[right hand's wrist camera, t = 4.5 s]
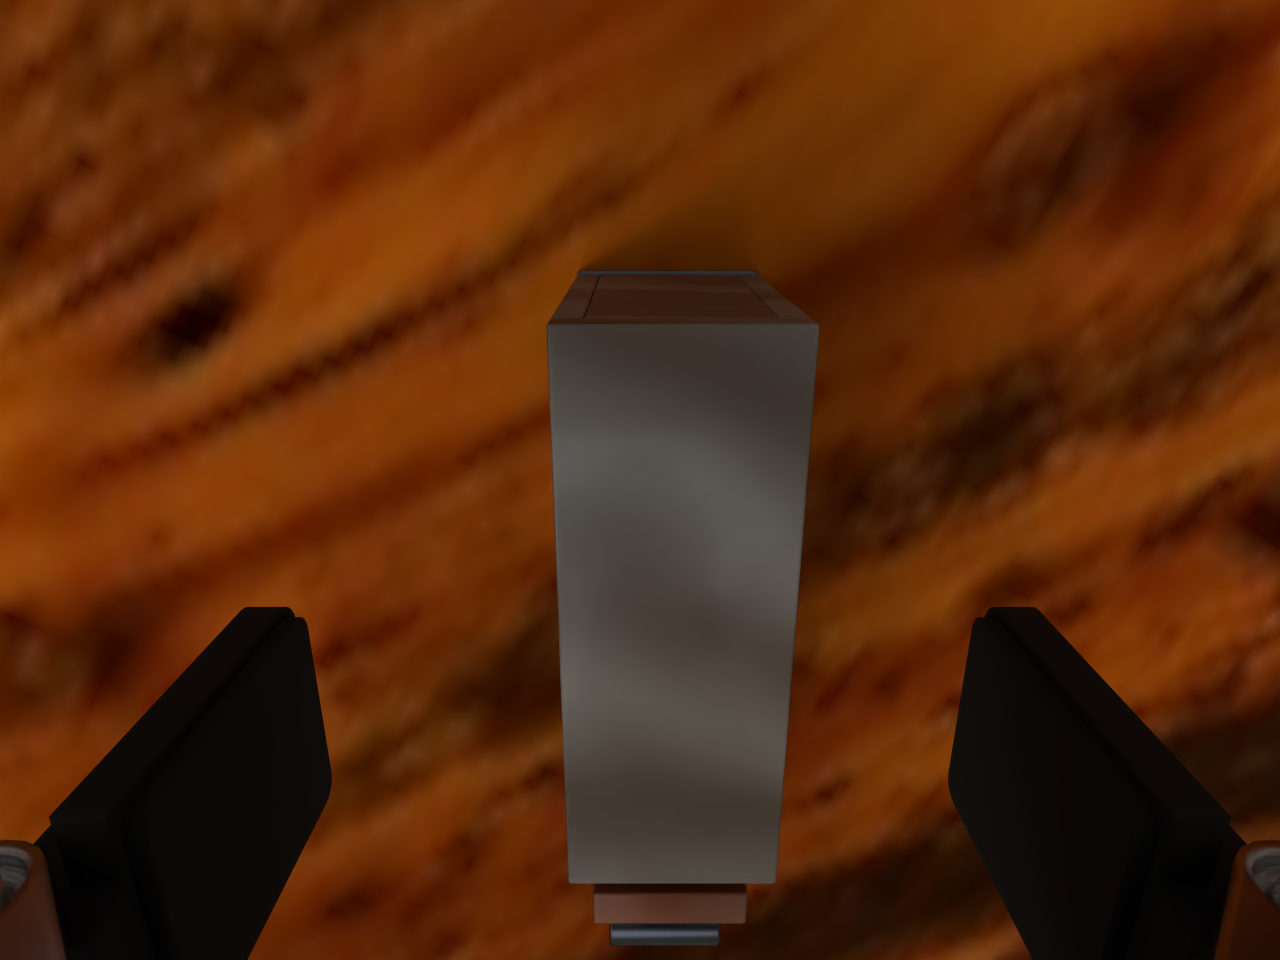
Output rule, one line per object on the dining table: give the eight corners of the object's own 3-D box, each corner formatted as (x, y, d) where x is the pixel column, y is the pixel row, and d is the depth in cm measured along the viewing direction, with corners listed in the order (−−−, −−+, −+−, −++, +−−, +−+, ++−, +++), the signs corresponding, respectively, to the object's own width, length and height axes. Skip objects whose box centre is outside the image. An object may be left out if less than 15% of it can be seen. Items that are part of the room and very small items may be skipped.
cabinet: (735, 675, 32) (776, 884, 22) (588, 675, 32) (567, 884, 22) (755, 270, 26) (821, 323, 17) (578, 270, 26) (545, 323, 17)
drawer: (715, 845, 34) (738, 1047, 26) (606, 845, 34) (596, 1047, 26) (735, 383, 27) (775, 468, 19) (598, 383, 27) (581, 468, 19)
